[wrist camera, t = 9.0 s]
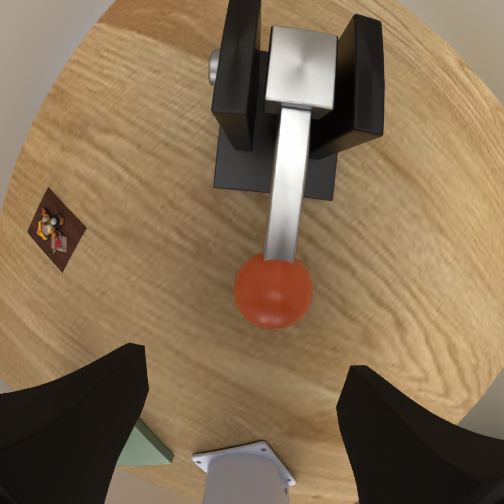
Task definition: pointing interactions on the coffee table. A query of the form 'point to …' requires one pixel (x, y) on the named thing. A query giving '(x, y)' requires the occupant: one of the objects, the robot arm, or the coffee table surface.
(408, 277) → the coffee table surface
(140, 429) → the control block
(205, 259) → the coffee table surface
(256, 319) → the lever
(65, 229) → the diorama
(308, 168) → the bracket
